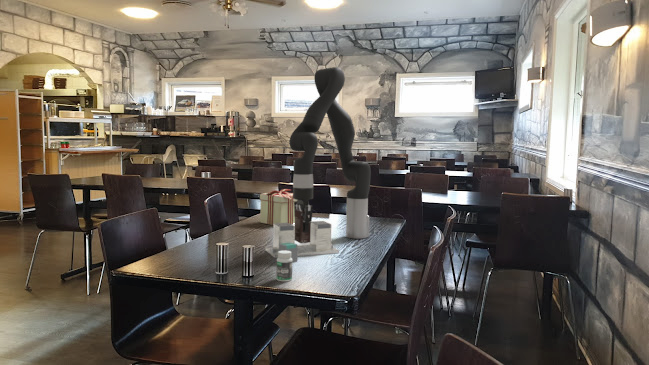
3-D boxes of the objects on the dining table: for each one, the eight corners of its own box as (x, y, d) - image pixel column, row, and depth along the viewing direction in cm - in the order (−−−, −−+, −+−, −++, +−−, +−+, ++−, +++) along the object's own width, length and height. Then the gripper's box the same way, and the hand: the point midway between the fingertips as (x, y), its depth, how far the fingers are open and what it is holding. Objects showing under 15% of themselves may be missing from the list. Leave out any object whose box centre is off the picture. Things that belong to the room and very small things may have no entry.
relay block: (290, 259, 168) (290, 242, 168) (297, 261, 165) (297, 244, 165) (278, 261, 165) (278, 243, 165) (285, 263, 162) (285, 245, 162)
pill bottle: (273, 280, 141) (273, 252, 141) (280, 276, 146) (280, 249, 145) (288, 282, 140) (288, 254, 139) (294, 278, 144) (295, 250, 144)
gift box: (287, 227, 232) (287, 192, 230) (257, 223, 242) (258, 189, 240) (307, 223, 246) (307, 189, 244) (279, 219, 256) (279, 187, 254)
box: (311, 242, 178) (311, 210, 177) (299, 243, 176) (300, 211, 175) (304, 239, 183) (305, 208, 182) (293, 240, 181) (294, 209, 180)
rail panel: (326, 246, 190) (327, 219, 189) (339, 252, 179) (339, 224, 178) (265, 250, 181) (265, 222, 180) (274, 257, 170) (274, 228, 169)
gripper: (319, 187, 173) (319, 233, 174) (305, 184, 186) (305, 227, 187) (300, 188, 170) (299, 235, 171) (287, 184, 183) (287, 228, 185)
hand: (302, 230), depth 179 cm, fingers closed on box, 6 cm apart
